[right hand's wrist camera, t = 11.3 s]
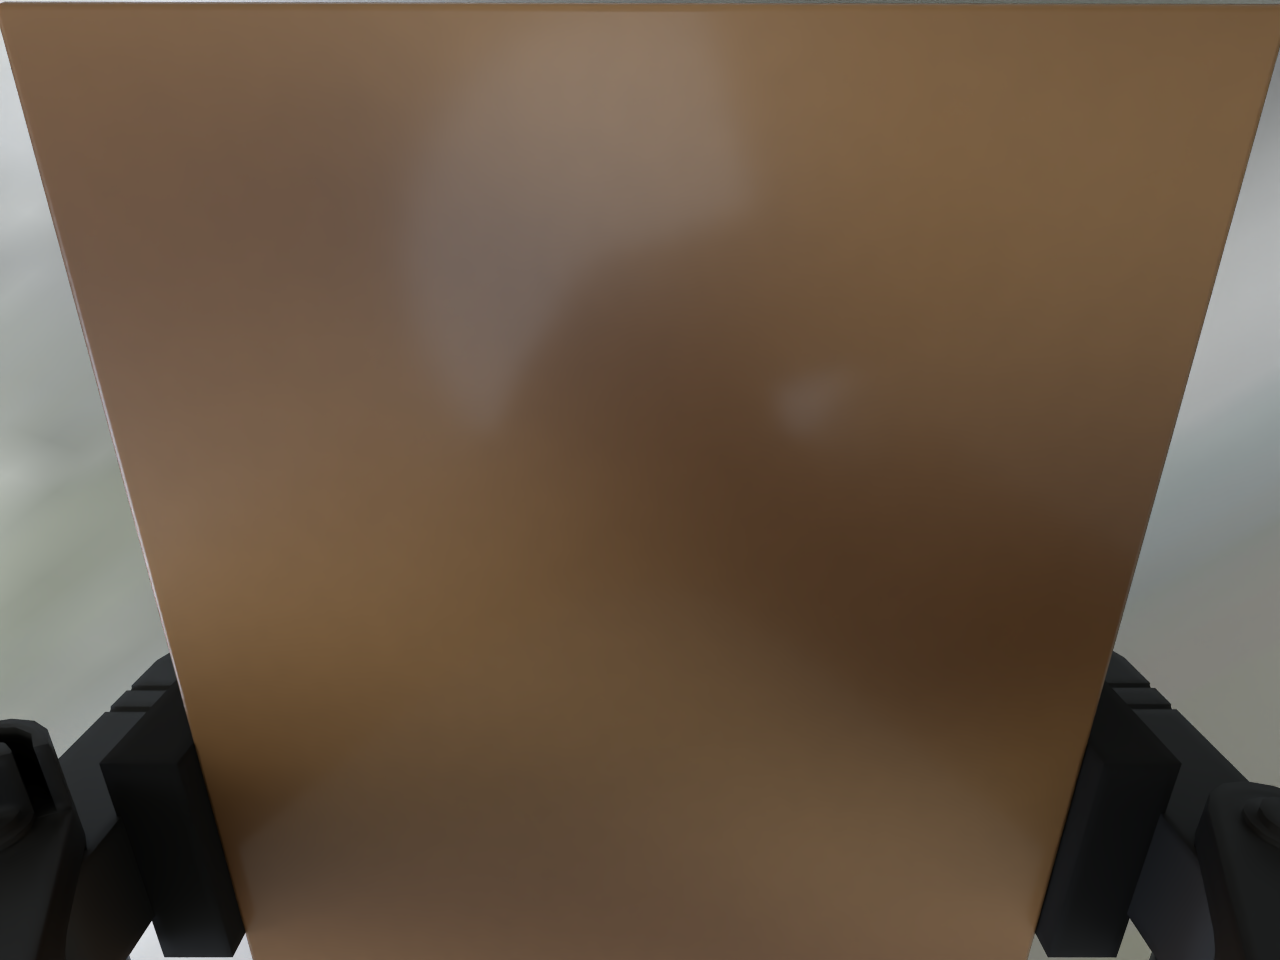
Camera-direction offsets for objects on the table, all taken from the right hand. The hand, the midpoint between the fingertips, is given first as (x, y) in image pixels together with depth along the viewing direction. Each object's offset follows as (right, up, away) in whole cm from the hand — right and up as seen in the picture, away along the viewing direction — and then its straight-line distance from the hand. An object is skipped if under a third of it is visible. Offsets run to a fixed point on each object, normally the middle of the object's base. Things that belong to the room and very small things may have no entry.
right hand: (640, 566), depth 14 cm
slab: (0, -31, +13) cm, 34 cm away
